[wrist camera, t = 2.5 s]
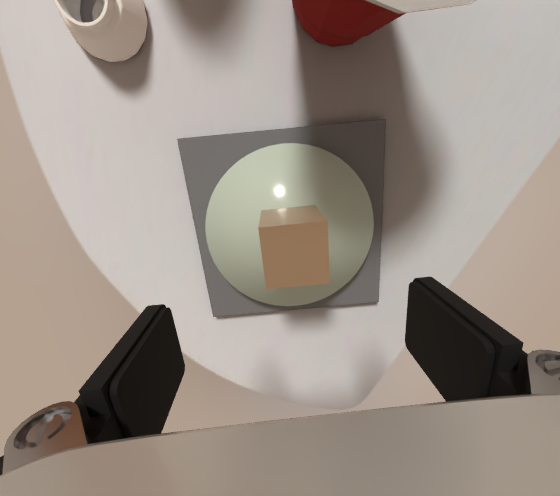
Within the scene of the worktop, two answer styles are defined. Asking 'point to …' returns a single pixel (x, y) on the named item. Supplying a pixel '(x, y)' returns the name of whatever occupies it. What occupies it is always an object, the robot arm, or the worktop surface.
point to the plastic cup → (357, 16)
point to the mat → (232, 147)
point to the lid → (289, 224)
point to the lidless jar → (107, 27)
